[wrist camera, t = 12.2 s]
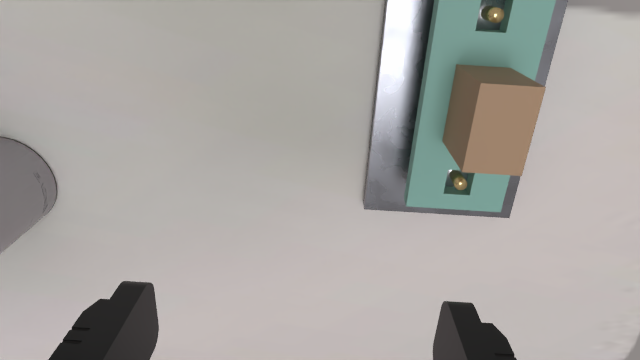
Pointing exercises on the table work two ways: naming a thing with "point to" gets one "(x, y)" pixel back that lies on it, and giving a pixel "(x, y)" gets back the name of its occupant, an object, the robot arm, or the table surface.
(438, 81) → the board
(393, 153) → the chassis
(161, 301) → the table surface
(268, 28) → the table surface
